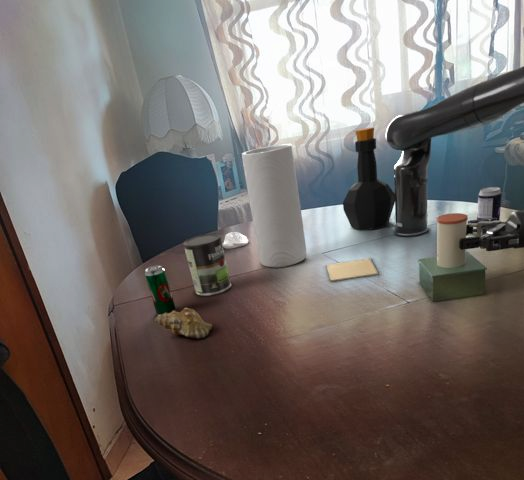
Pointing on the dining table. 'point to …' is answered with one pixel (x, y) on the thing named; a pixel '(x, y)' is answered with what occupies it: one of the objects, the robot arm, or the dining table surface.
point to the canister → (450, 239)
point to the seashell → (185, 323)
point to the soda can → (159, 289)
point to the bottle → (368, 188)
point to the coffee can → (207, 264)
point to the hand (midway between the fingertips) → (454, 238)
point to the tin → (452, 279)
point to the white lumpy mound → (234, 240)
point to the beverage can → (489, 203)
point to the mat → (351, 269)
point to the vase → (275, 205)
